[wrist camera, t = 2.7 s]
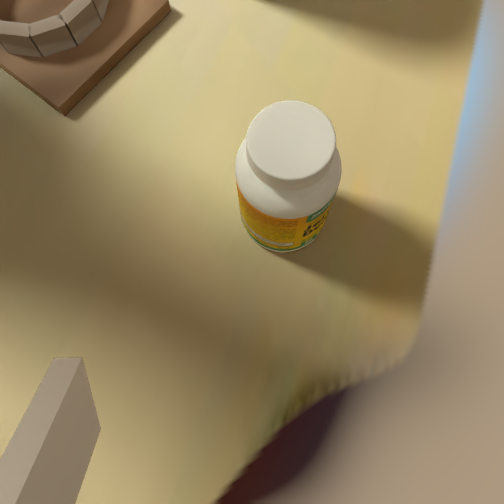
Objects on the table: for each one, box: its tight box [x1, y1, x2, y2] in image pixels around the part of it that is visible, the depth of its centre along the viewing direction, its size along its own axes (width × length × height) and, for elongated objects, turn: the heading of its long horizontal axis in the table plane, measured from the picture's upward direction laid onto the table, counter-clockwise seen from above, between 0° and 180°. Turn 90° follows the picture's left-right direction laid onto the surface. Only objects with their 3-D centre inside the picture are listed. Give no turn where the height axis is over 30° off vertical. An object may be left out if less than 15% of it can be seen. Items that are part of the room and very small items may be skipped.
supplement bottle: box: [235, 100, 341, 252], centre depth 26 cm, size 5×5×10 cm
